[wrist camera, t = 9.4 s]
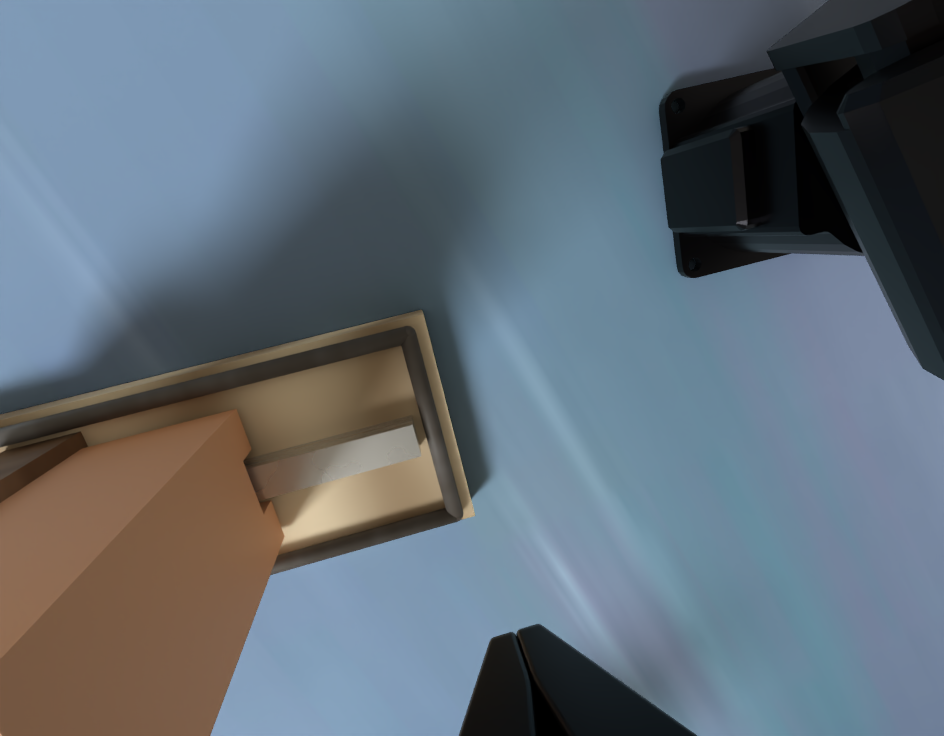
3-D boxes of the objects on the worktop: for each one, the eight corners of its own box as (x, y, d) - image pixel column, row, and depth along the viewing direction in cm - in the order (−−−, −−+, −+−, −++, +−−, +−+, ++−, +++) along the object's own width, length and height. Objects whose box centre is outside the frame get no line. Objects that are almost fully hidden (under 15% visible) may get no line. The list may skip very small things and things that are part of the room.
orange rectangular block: (236, 408, 17) (-29, 688, 6) (284, 536, 18) (132, 942, 8) (82, 448, 17) (-474, 818, 6) (143, 575, 18) (-222, 1061, 7)
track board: (421, 309, 19) (424, 316, 17) (470, 500, 21) (477, 523, 19) (-39, 424, 17) (-87, 444, 15) (65, 614, 19) (32, 651, 18)
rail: (411, 415, 18) (412, 424, 17) (420, 445, 18) (421, 456, 18) (111, 494, 17) (94, 509, 16) (125, 524, 18) (110, 541, 17)
